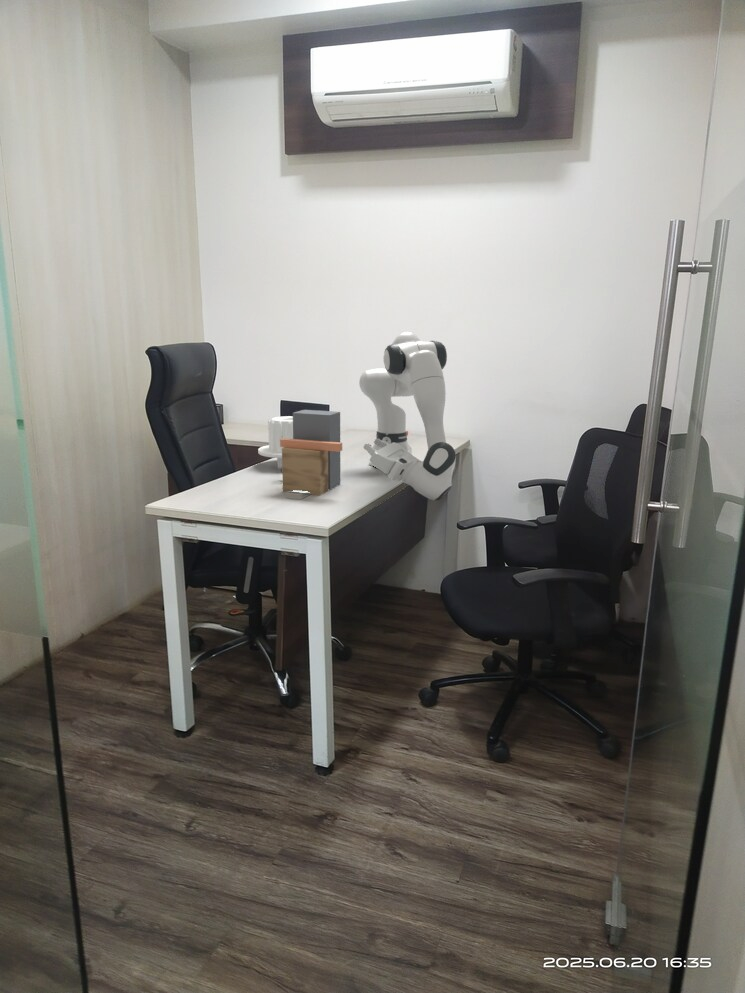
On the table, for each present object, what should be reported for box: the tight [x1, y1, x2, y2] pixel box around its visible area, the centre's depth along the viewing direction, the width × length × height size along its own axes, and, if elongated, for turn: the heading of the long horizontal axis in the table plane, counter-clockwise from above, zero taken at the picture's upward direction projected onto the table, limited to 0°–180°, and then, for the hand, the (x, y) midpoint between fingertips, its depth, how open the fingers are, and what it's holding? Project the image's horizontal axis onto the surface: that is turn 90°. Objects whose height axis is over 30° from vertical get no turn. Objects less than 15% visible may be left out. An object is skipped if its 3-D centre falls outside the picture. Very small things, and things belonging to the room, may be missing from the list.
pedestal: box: [292, 409, 341, 490], centre depth 249 cm, size 9×14×26 cm, turn 69°
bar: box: [280, 438, 343, 453], centre depth 238 cm, size 3×22×3 cm, turn 69°
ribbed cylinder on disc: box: [257, 415, 293, 469], centre depth 281 cm, size 25×25×19 cm
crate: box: [281, 447, 329, 496], centre depth 241 cm, size 7×14×15 cm, turn 69°
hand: (370, 442), depth 231 cm, fingers open, 8 cm apart
